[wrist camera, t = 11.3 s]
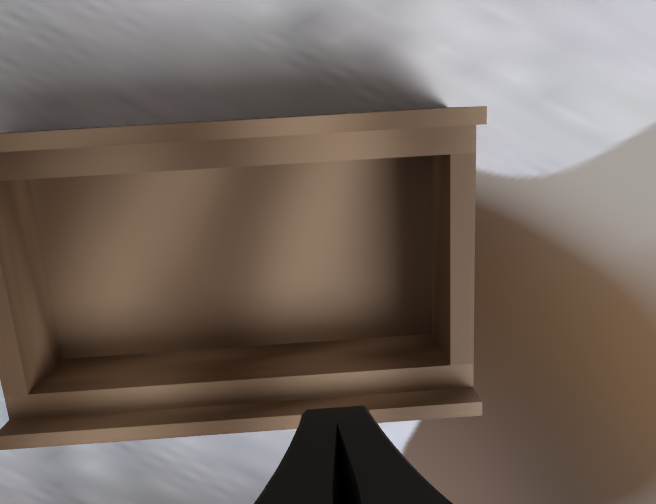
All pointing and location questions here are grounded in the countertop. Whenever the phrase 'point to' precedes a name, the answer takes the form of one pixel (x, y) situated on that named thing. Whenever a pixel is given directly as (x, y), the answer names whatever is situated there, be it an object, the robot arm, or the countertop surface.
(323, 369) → the walnut box
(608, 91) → the countertop surface
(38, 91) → the countertop surface
